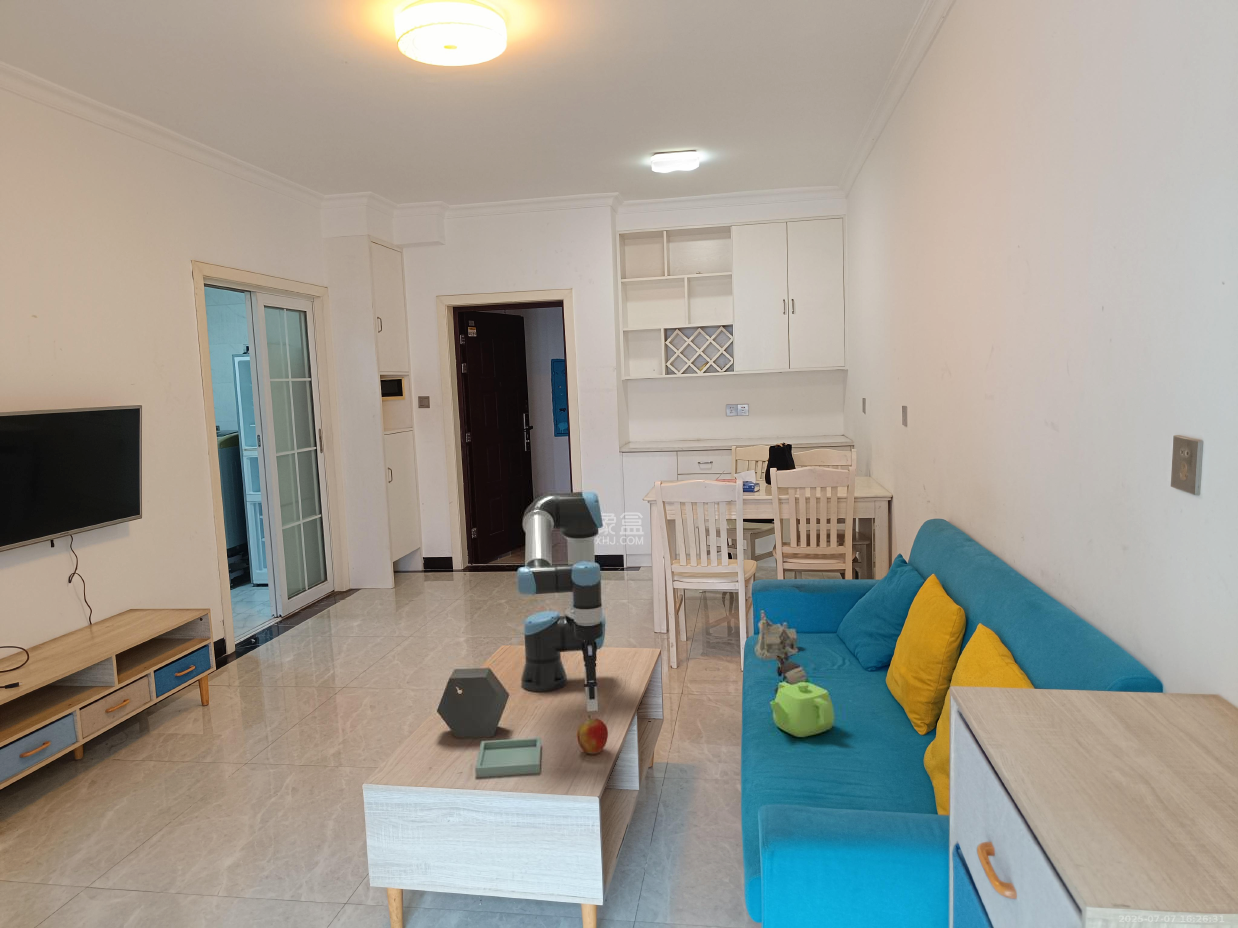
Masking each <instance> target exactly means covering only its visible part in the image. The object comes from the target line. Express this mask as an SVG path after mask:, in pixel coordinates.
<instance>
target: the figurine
mask: <svg viewBox="0 0 1238 928" xmlns="http://www.w3.org/2000/svg"><path fill="white" fill-rule="evenodd" d="M789 659H790V658H789V656H788V654H787V652H785V654H784V658H782V657H781V656H779V655H777V659H776V660H778V662H779V663H778V664H777V667H776V674H777V676H778V677H782V680H779V683H782V682H786V683H788V684H790V685H794V684H797V683H800V682H805V683H811V684H813V685H814V683H813V680H812V678H811V677H808V678H807V675H806V672H805V670H804V668H803V667H802V666H801V665H800V664H798V663H797V662H795V661H792V660H789ZM785 680H786V681H785ZM774 692H775V694H776V695H777V692H778V686H777V687H775V688H774Z"/></svg>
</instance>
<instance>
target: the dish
mask: <svg viewBox="0 0 1238 928" xmlns="http://www.w3.org/2000/svg"><path fill="white" fill-rule="evenodd" d="M541 754H542V738H541V737H539V736H538V737H527V738H523V737H522V738H513V739H512V738H511V739H495V740H494V739H493V740H481V742H480V746H479V751H478V755H477V759H476V764H475V769H474V770H475V778H489V777H501V776H502V777H503V776H505V777H506V776H518V775H530V774H531V775H532V774H540V773H541V758H542V755H541Z"/></svg>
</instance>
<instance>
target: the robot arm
mask: <svg viewBox="0 0 1238 928" xmlns="http://www.w3.org/2000/svg"><path fill="white" fill-rule="evenodd" d="M603 527H604V524H603V518H602V511H601V506H600V501H599V496H598V494H597V493H596V492H594V491H576V492H575V491H574V492H573V491H572V492H560V493H559V492H556V493H554V492H553V493H552V492H551V493H546V494H544V495H541V496H539V497H538V498H536V499H535V500H534V501H532V503H531V504H530V505H529V506H527V508H526V510H525V511H524V515H523V516H522V529H523V531H524V532H525V552H524V553H525V554H524V555H525V556H524V557H525V558H524V559H525V561H524V566H522V567H519V568H518V569H517V574H516V578H517V590H518V593H519V594H521V595H532V596H534V595H543V594H545V595H547V594H562V593H563V594H564V593H569V607H568V608H567V609H566V610H565V615H562V616H561V615H560V614H559V612H558V611H555V610H554V611H552V610H547V611H541V612H538V613H533V614H532V615H530V616H528V617H527V618H526V619H525V621H524V622H523V623H524V624H523V635H524V649H525V650H524V654H525V655H524V656H525V664H524V667H523V670H522V674H521V677H520V684H521V687H522V688H523V689H525V690H527V691H531V692H551V691H555V690H558V689H561V688H563V687H565V686H566V684H567V683H568V675H567V673H566V670H565V667H564V664H563V661H562V658H561V657H562V655H561V654H562V653H564V652H565V653H569V652H582V658H583V661H582V662H583V664H584V665H583V666H584V684H583V688H584V690H585V693H586V711H587V712H595V711H596V712H598V710H599V709H598V687H597V686H598V682H597V671H596V670H597V652H598V650H600V649H601V648H603V646H604V644H605V637H606V615H605V613H603V604H602V581H601V580H602V573H601V566H600V564H599V563H597V562H595V561H596V560H595V538H596V537H597V536H598V535H599V529H602V528H603ZM559 530H560V531H561V532H562V534H561V535H562V537H564V538H565V539H566V541H567V542H566V543H567V560H568V561H567V563H568V564H559V565H558V564H556V565H553V562H552V561H553V559H552V557H553V555H552V553H553V552H552V531H559Z"/></svg>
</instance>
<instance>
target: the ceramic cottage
mask: <svg viewBox="0 0 1238 928" xmlns="http://www.w3.org/2000/svg"><path fill="white" fill-rule="evenodd" d="M760 619H761V620H760V621H759V622H758V623H757V626H758V627H759V634H758V637H757V644H756V645H755V646H754V653H755V655H756V656H757V657H756V658H758V659H760V660H767V661H768V660H770V661H771V660H772V661H773V660H778V659H777V655H779V656H781V657H782V658H783V659H784V654H785V652H787V654H788V657H791V655H795V654H797V653H798V652H799V649H798V646H797V645H798V636H797V631H796V629H795V628H790V629H789V628H788V623H787V622H783V624H782V625H781V624H780V623H778V624H773V622H771V621H770V620H769V619H768V618H766V614H765V611H764V610H761V611H760Z"/></svg>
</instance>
